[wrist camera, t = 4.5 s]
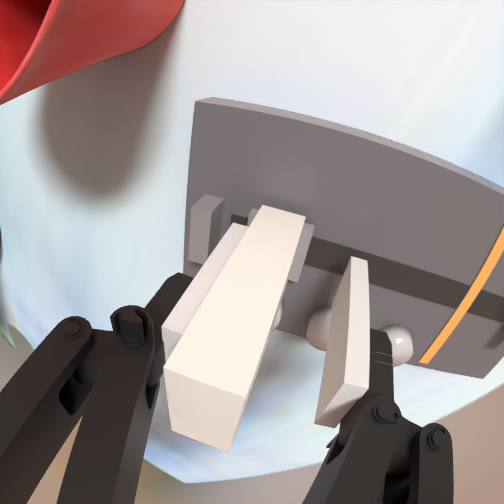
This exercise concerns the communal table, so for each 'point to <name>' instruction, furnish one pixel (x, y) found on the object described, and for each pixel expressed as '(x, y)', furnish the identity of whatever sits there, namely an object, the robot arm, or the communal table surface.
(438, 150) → the communal table surface
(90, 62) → the flower pot
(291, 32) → the communal table surface
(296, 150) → the console
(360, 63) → the communal table surface
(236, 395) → the fader tab
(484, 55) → the communal table surface
